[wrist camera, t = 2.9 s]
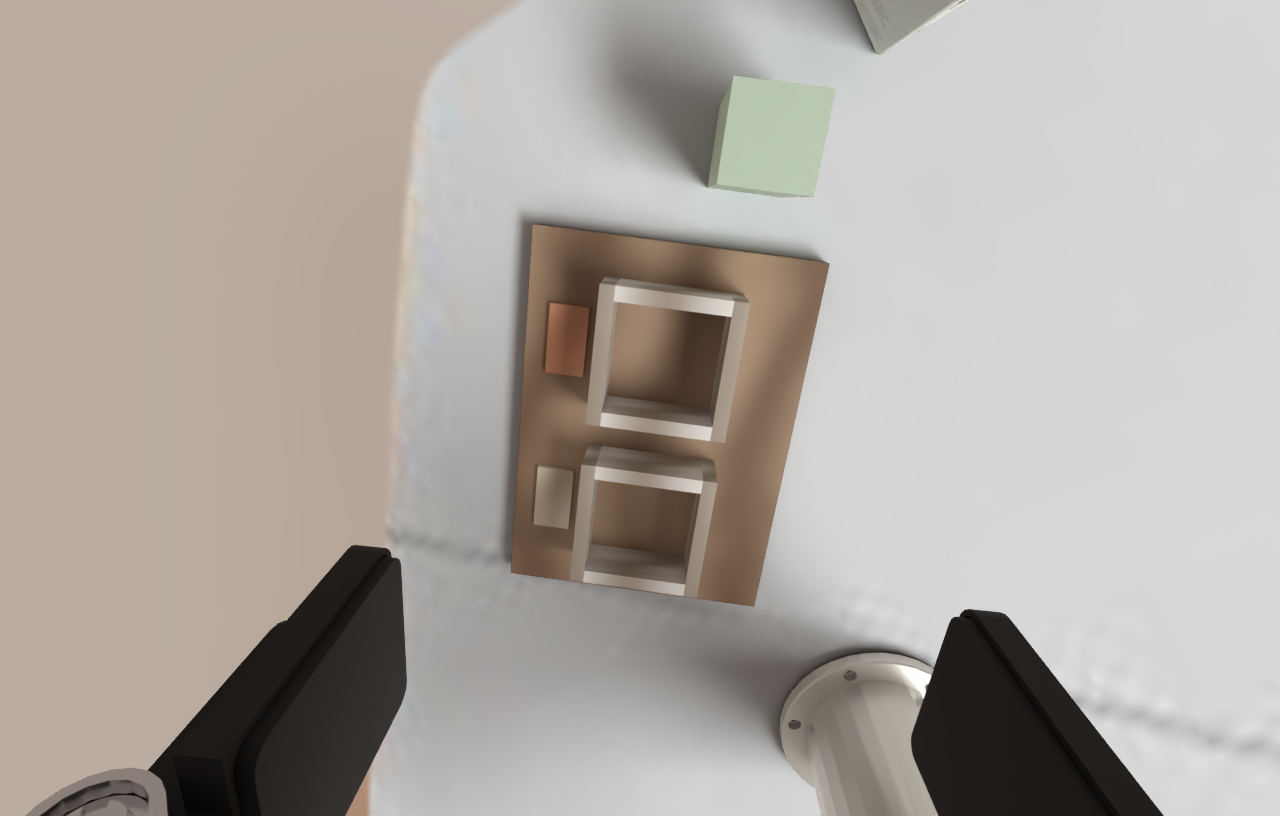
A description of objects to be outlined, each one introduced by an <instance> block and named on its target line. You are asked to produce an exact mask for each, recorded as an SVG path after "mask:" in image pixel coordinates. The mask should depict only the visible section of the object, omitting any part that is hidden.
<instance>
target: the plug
mask: <svg viewBox="0 0 1280 816" xmlns="http://www.w3.org/2000/svg"><path fill="white" fill-rule="evenodd" d="M835 90H836V89H834V88H826V87H818V86H811V85H803V84H795V83H787V82H779V81H772V80H764V79H756V78H748V77H740V76H733V78H732V80H731V82H730V84H729V86H728V88H727V91H726V93H725V95H724V97H723V99H722V101H721V103H720V106H719V113H718V119H717V126H716V133H715V139H714V146H713V152H712V159H711V166H710V172H709V179H708V186H707V188H714V189H721V190H729V191H737V192H744V193H752V194H760V195H767V196H775V197H814V192H815V187H816V183H817V178H818V173H819V168H820V163H821V158H822V153H823V148H824V144H825V139H826V134H827V129H828V124H829V119H830V114H831V109H832V105H833V100H834V95H835Z"/></svg>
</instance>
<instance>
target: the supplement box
mask: <svg viewBox="0 0 1280 816" xmlns="http://www.w3.org/2000/svg"><path fill="white" fill-rule="evenodd" d="M853 1H854V3H855V5H856V7H857V10H858V12H859V15H860V17H861V19H862V22H863V24H864V26H865V28H866V31H867V33H868V36H869V38H870V40H871V42H872V44H873V47H874V49H875V51H876V53H877V54H878V55H881V54H883V53H885V52H886V51H888V50H890V49H891V48H893V47H894V46H896V45H898V44H899V43H901V42H902V41H904V40H906V39H907V38H909V37H911V36H912V35H914V34H915V33H917V32H919V31H920V30H922V29H924V28H925V27H927V26H928V25H930V24H932V23H933V22H935V21H937V20H938V19H940V18H942V17H943V16H945V15H946V14H948V13H950V12H951V11H953V10H955V9H956V8H958V7H959V6H961V5H963V4H964V3H966V2H967V1H969V0H853Z"/></svg>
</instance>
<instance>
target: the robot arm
mask: <svg viewBox="0 0 1280 816" xmlns="http://www.w3.org/2000/svg"><path fill="white" fill-rule="evenodd" d="M406 684H407V675H406V656H405V636H404V617H403V597H402V578H401V564H400V560H399V559H397V558H392V557H391V553H390V551H389V550H388V549H387V548H379V547H368V546H359V545H354V546H351V547H350V548H349V549H348V550H347V551H346V552H345V553H344V555H342V557H341V558H340V559H339V560H338V561H337V562H336V564H335V565H334V566H333V567H332V568H331V569H330V571H329V572H328V573H327V574H326V575H325V576H324V578H323V579H322V580H321V581H320V582H319V583H318V585H317V586H316V587H315V588H314V590H313V591H312V592H311V593H310V594H309V595H308V596H307V597H306V599H305V600H304V601H303V602H302V603H301V604H300V606H299V607H298V608H297V609H296V610H295V611H294V613H293V614H292V615H291V616H290V617H289V618H288V620H287V621H283V622H280V623H278V624H277V625H276V626H275V627H273V628H272V629H271V630H270V631H269V632H268V633H267V635H266V636H265V637H264V638H263V639H262V640H261V641H260V643H259V644H258V645H257V646H256V647H255V648H254V649H253V651H252V652H251V653H250V654H249V655H248V656H247V658H246V659H245V660H244V661H243V662H242V663H241V665H239V667H238V668H237V669H236V670H235V671H234V673H232V675H231V676H230V677H229V678H228V679H227V680H226V682H225V683H224V684H223V685H222V686H221V687H220V688H219V690H218V691H217V692H216V693H215V694H214V695H213V696H212V697H211V699H210V700H209V701H208V702H207V703H206V705H204V707H203V708H202V709H201V710H200V711H199V712H198V714H197V715H196V716H195V717H194V718H193V719H192V720H191V721H190V723H189V724H188V725H187V726H186V727H185V728H184V729H183V731H182V732H181V733H180V734H179V735H178V737H176V739H175V740H174V741H173V742H172V743H171V744H170V746H169V747H168V748H167V749H166V750H165V751H164V752H163V754H162V755H161V756H160V757H159V758H158V759H157V760H156V762H155V763H154V764H153V765H152V766H151V767H150V768H149V770H148V771H146V770H141V769H136V768H127V769H115V770H109V771H106V772H102V773H99V774H96V775H92V776H89V777H86V778H84V779H82V780H80V781H77V782H76V783H73V784H71V785H69V786H67V787H65V788H63V789H61V790H59V791H58V792H56V793H55V794H54V795H52V796H50V797H49V798H48V799H46V800H44V801H43V802H41V803H40V804H38V805H37V806H36V807H35V808H34V809H32V810H31V811H30V812H29V813H28V814H27V815H26V816H345V815H346V813H347V811H348V809H349V807H350V805H351V803H352V801H353V799H354V797H355V795H356V793H357V791H358V789H359V787H360V785H361V783H362V781H363V779H364V777H365V775H366V773H367V771H368V769H369V767H370V766H371V764H372V762H373V760H374V758H375V756H376V754H377V752H378V750H379V748H380V746H381V744H382V742H383V740H384V738H385V736H386V734H387V732H388V730H389V728H390V726H391V724H392V722H393V720H394V718H395V716H396V714H397V712H398V710H399V708H400V706H401V703H402V701H403V698H404V695H405V691H406ZM780 735H781V741H782V746H783V750H784V753H785V756H786V758H787V760H788V762H789V763H790V765H791V767H792V768H793V770H794V771H795V772H796V773H797V774H798V775H799V776H800V777H801V778H802V779H803V780H804V781H805V782H807V783H808V784H809V785H811V786H812V787H814V788H815V790H816V794H817V798H818V803H819V807H820V811H821V815H822V816H1163V814H1162V813H1161V812H1160V811H1159V809H1158V808H1157V807H1156V805H1155V804H1154V803H1153V802H1152V800H1151V799H1150V798H1149V796H1148V795H1147V794H1146V793H1145V791H1144V790H1143V789H1142V787H1141V786H1140V785H1139V784H1138V782H1137V781H1136V780H1135V779H1134V777H1133V776H1132V775H1131V773H1130V772H1129V771H1128V770H1127V768H1126V767H1125V766H1124V764H1123V763H1122V762H1121V761H1120V759H1119V758H1118V757H1117V755H1116V754H1115V753H1114V752H1113V750H1112V749H1111V748H1110V747H1109V745H1108V744H1107V743H1106V741H1105V740H1104V739H1103V738H1102V736H1101V735H1100V734H1099V732H1098V731H1097V730H1096V729H1095V727H1094V726H1093V725H1092V723H1091V722H1090V721H1089V720H1088V718H1087V717H1086V716H1085V715H1084V713H1083V712H1082V711H1081V709H1080V708H1079V707H1078V706H1077V704H1076V703H1075V702H1074V700H1073V699H1072V698H1071V697H1070V695H1069V694H1068V693H1067V691H1066V690H1065V689H1064V688H1063V686H1062V685H1061V684H1060V683H1059V681H1058V680H1057V679H1056V677H1055V676H1054V675H1053V674H1052V672H1051V671H1050V670H1049V668H1048V667H1047V666H1046V665H1045V663H1044V662H1043V661H1042V659H1041V658H1040V657H1039V656H1038V654H1037V653H1036V652H1035V651H1034V649H1033V648H1032V647H1031V645H1030V644H1029V643H1028V642H1027V640H1026V639H1025V638H1024V636H1023V635H1022V634H1021V633H1020V631H1019V630H1018V629H1017V627H1016V626H1015V625H1014V624H1013V622H1012V621H1011V620H1010V619H1009V618H1008V617H1007V616H1006V615H1005V614H1003V613H1000V612H991V611H981V610H972V609H967V610H964V611H963V612H962V613H961V615H960V617H954V618H953V619H951V621H950V623H949V626H948V629H947V632H946V635H945V637H944V640H943V643H942V646H941V649H940V652H939V655H938V658H937V661H936V664H935V667H934V669H933V668H932V667H930V666H928V665H926V664H924V663H922V662H920V661H918V660H915V659H912V658H909V657H906V656H902V655H897V654H889V653H862V654H856V655H850V656H846V657H843V658H840V659H837V660H834V661H831V662H829V663H827V664H825V665H823V666H821V667H819V668H817V669H815V670H814V671H813V672H811V673H810V674H809V675H807V676H806V677H805V678H803V679H802V680H801V681H800V682H799V683H798V685H797V686H796V687H795V688H794V689H793V690H792V691H791V693H790V695H789V696H788V698H787V700H786V702H785V703H784V706H783V710H782V713H781V716H780Z"/></svg>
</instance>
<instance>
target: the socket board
mask: <svg viewBox="0 0 1280 816" xmlns="http://www.w3.org/2000/svg"><path fill="white" fill-rule="evenodd" d="M828 269H829V263H827V262H822V261H815V260H807V259H800V258H792V257H784V256H777V255H769V254H762V253H754V252H746V251H739V250H731V249H724V248H716V247H708V246H701V245H693V244H685V243H678V242H670V241H663V240H655V239H647V238H640V237H632V236H625V235H617V234H609V233H602V232H594V231H587V230H579V229H571V228H564V227H556V226H549V225H541V224H534V225H533V228H532V244H531V260H530V276H529V292H528V308H527V324H526V340H525V356H524V371H523V387H522V403H521V419H520V435H519V451H518V467H517V483H516V499H515V515H514V531H513V547H512V563H511V573H515V574H523V575H530V576H537V577H544V578H552V579H559V580H566V581H573V582H580V583H588V584H595V585H602V586H609V587H617V588H624V589H631V590H638V591H646V592H653V593H660V594H667V595H674V596H682V597H689V598H696V599H703V600H711V601H718V602H725V603H732V604H739V605H747V606H754V603H755V599H756V594H757V590H758V585H759V581H760V576H761V572H762V567H763V563H764V558H765V554H766V549H767V545H768V540H769V536H770V531H771V526H772V522H773V517H774V513H775V508H776V504H777V499H778V495H779V490H780V486H781V481H782V477H783V472H784V468H785V463H786V459H787V454H788V450H789V445H790V441H791V436H792V431H793V427H794V422H795V418H796V413H797V409H798V404H799V400H800V395H801V391H802V386H803V382H804V377H805V373H806V368H807V364H808V359H809V355H810V350H811V345H812V341H813V336H814V332H815V327H816V323H817V318H818V314H819V309H820V305H821V300H822V296H823V291H824V287H825V282H826V278H827V273H828Z"/></svg>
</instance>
